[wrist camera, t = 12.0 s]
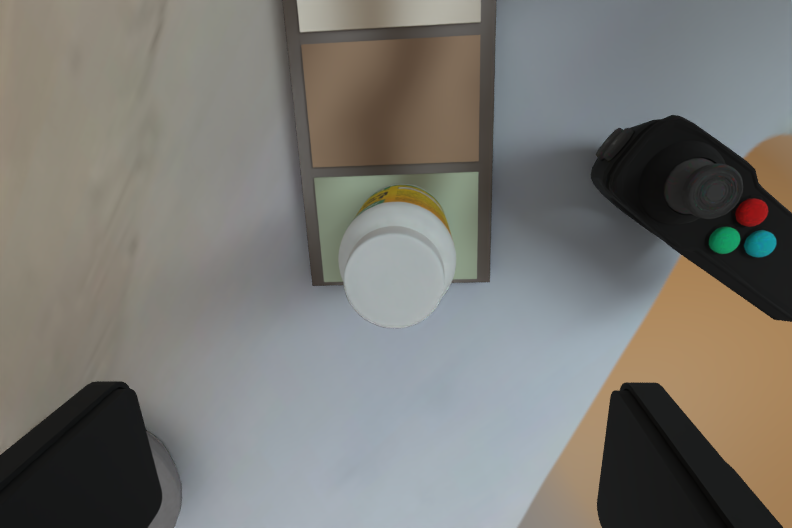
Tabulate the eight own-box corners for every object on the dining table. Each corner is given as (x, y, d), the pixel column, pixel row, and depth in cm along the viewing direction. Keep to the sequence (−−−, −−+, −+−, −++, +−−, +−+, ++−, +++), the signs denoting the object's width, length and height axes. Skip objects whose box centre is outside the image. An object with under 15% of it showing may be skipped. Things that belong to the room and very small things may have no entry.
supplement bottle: (417, 285, 28) (416, 368, 19) (341, 242, 27) (301, 306, 18) (465, 211, 26) (489, 261, 17) (385, 163, 26) (365, 189, 17)
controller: (598, 103, 25) (705, 96, 16) (756, 228, 27) (938, 290, 17) (547, 167, 26) (618, 197, 17) (701, 283, 28) (843, 368, 19)
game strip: (496, -127, 22) (500, -140, 21) (487, 276, 29) (490, 283, 28) (276, -110, 23) (268, -122, 22) (316, 280, 29) (311, 286, 28)
